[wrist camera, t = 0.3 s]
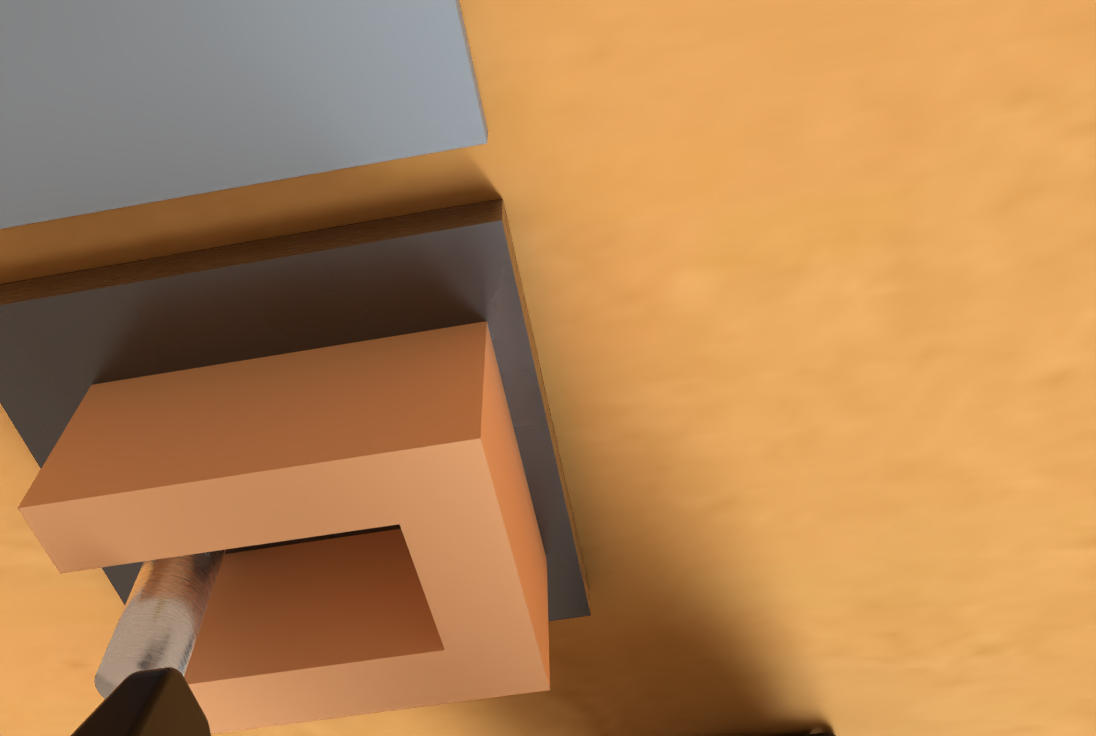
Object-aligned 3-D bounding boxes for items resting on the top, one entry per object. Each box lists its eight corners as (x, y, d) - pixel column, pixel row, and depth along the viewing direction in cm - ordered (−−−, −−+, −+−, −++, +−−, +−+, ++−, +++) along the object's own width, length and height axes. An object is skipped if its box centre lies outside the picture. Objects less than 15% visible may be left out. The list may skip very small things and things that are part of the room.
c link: (546, 560, 26) (550, 690, 23) (211, 607, 27) (168, 739, 23) (486, 321, 22) (480, 438, 18) (91, 384, 22) (17, 508, 19)
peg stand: (588, 587, 28) (604, 805, 23) (176, 644, 29) (99, 865, 24) (502, 198, 21) (495, 378, 16) (-33, 290, 22) (-209, 488, 17)
